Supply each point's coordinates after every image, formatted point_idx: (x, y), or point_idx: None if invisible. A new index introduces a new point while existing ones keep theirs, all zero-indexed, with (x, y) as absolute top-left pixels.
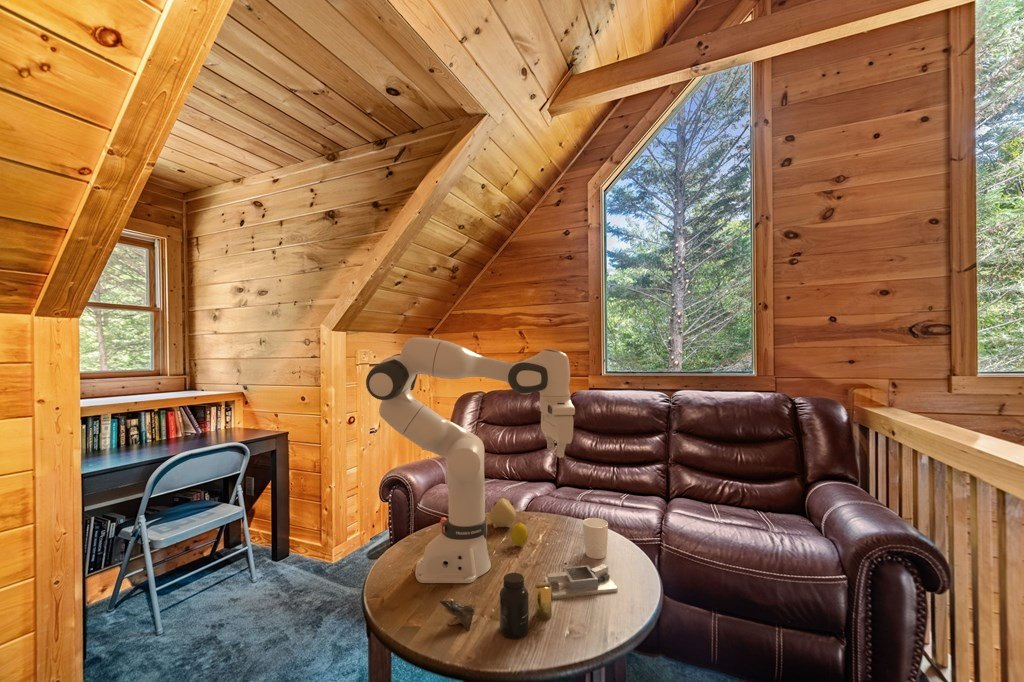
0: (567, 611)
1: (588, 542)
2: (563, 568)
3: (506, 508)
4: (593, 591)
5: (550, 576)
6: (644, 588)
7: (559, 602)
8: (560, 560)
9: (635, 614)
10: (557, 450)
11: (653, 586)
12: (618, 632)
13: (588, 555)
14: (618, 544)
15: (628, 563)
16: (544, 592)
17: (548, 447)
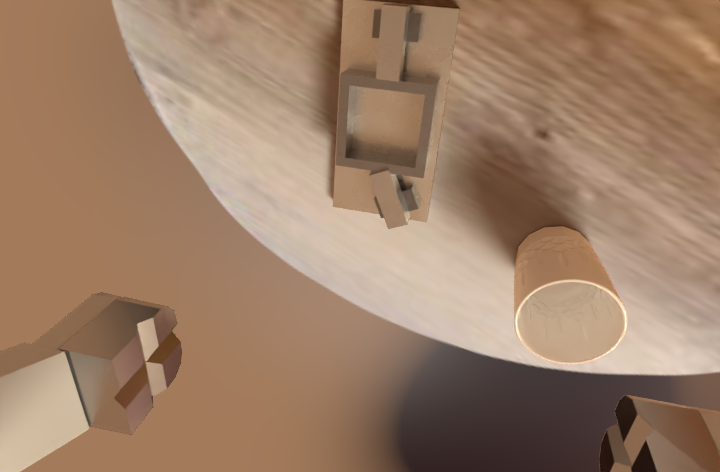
0: (280, 21)
1: (544, 250)
2: (429, 86)
3: None
4: (336, 137)
5: (384, 12)
6: (333, 270)
7: (326, 14)
8: (571, 125)
9: (241, 189)
10: (47, 353)
11: (336, 293)
12: (185, 115)
13: (545, 229)
14: None
15: (459, 307)
16: None
17: (660, 423)
